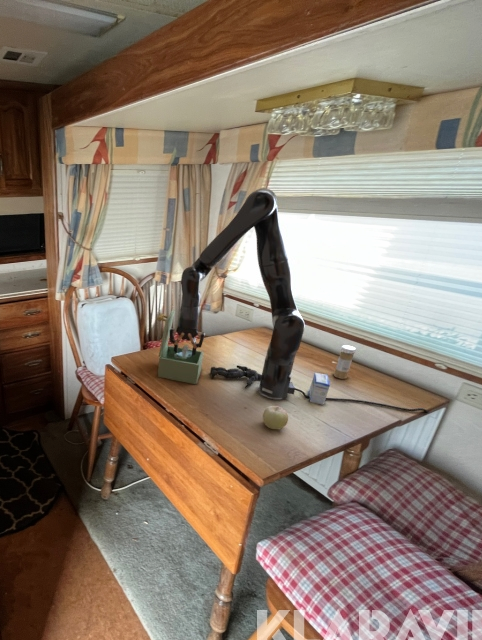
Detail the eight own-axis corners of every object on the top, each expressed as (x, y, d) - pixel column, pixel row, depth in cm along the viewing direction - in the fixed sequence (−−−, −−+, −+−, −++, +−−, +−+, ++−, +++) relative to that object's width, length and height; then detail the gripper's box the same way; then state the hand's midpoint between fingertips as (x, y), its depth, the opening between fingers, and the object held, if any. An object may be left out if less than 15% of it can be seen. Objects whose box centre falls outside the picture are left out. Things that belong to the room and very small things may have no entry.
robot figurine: (213, 388, 141) (268, 391, 137) (214, 378, 140) (270, 381, 136) (208, 367, 157) (256, 370, 153) (209, 358, 156) (258, 361, 152)
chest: (201, 369, 154) (203, 351, 151) (196, 384, 143) (198, 365, 139) (165, 363, 160) (166, 345, 157) (157, 376, 149) (159, 357, 146)
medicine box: (308, 391, 137) (314, 372, 134) (322, 394, 135) (328, 374, 132) (309, 402, 131) (315, 381, 127) (324, 405, 129) (330, 384, 125)
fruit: (288, 435, 114) (293, 414, 111) (262, 431, 116) (267, 410, 112) (282, 421, 120) (287, 401, 117) (258, 417, 122) (263, 397, 119)
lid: (175, 309, 150) (163, 307, 151) (167, 320, 138) (155, 317, 140) (167, 344, 157) (156, 341, 158) (160, 357, 145) (148, 353, 147)
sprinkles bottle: (345, 375, 149) (355, 346, 143) (347, 380, 145) (356, 350, 140) (332, 373, 151) (341, 344, 145) (333, 377, 147) (342, 348, 142)
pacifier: (170, 356, 149) (180, 362, 145) (171, 342, 147) (182, 347, 142) (183, 353, 153) (194, 358, 148) (184, 339, 150) (195, 344, 146)
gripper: (168, 316, 141) (165, 354, 147) (206, 321, 135) (201, 360, 142) (172, 310, 147) (169, 347, 153) (209, 315, 141) (203, 353, 148)
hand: (184, 353), depth 148 cm, fingers closed on pacifier, 6 cm apart
